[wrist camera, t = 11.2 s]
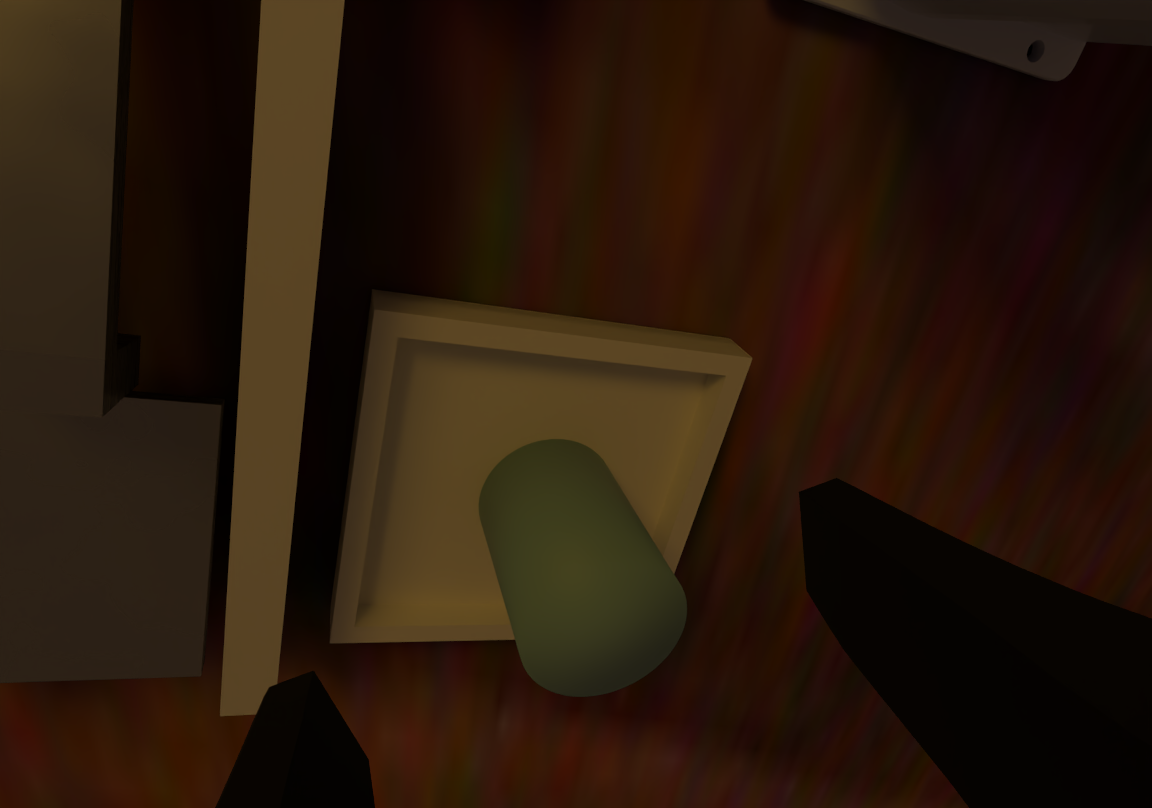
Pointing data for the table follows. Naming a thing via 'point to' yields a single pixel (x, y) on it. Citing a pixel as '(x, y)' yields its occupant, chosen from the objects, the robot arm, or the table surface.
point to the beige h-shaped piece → (277, 329)
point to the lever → (87, 381)
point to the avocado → (577, 571)
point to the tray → (507, 447)
